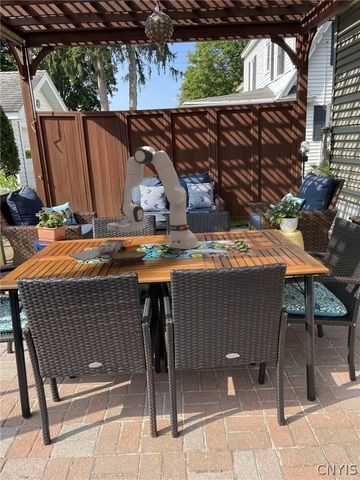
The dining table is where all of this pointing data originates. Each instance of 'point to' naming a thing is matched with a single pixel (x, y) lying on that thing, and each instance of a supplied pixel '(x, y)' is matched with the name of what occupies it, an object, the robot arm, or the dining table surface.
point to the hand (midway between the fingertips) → (108, 229)
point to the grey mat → (89, 254)
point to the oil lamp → (126, 255)
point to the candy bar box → (110, 246)
